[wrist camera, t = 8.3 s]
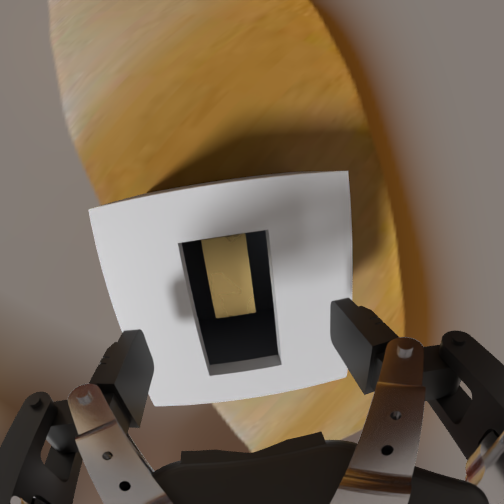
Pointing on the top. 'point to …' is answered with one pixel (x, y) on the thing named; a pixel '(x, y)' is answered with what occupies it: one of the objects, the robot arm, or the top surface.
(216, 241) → the tan rectangular block
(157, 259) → the coin box
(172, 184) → the top surface
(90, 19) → the top surface
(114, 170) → the top surface
